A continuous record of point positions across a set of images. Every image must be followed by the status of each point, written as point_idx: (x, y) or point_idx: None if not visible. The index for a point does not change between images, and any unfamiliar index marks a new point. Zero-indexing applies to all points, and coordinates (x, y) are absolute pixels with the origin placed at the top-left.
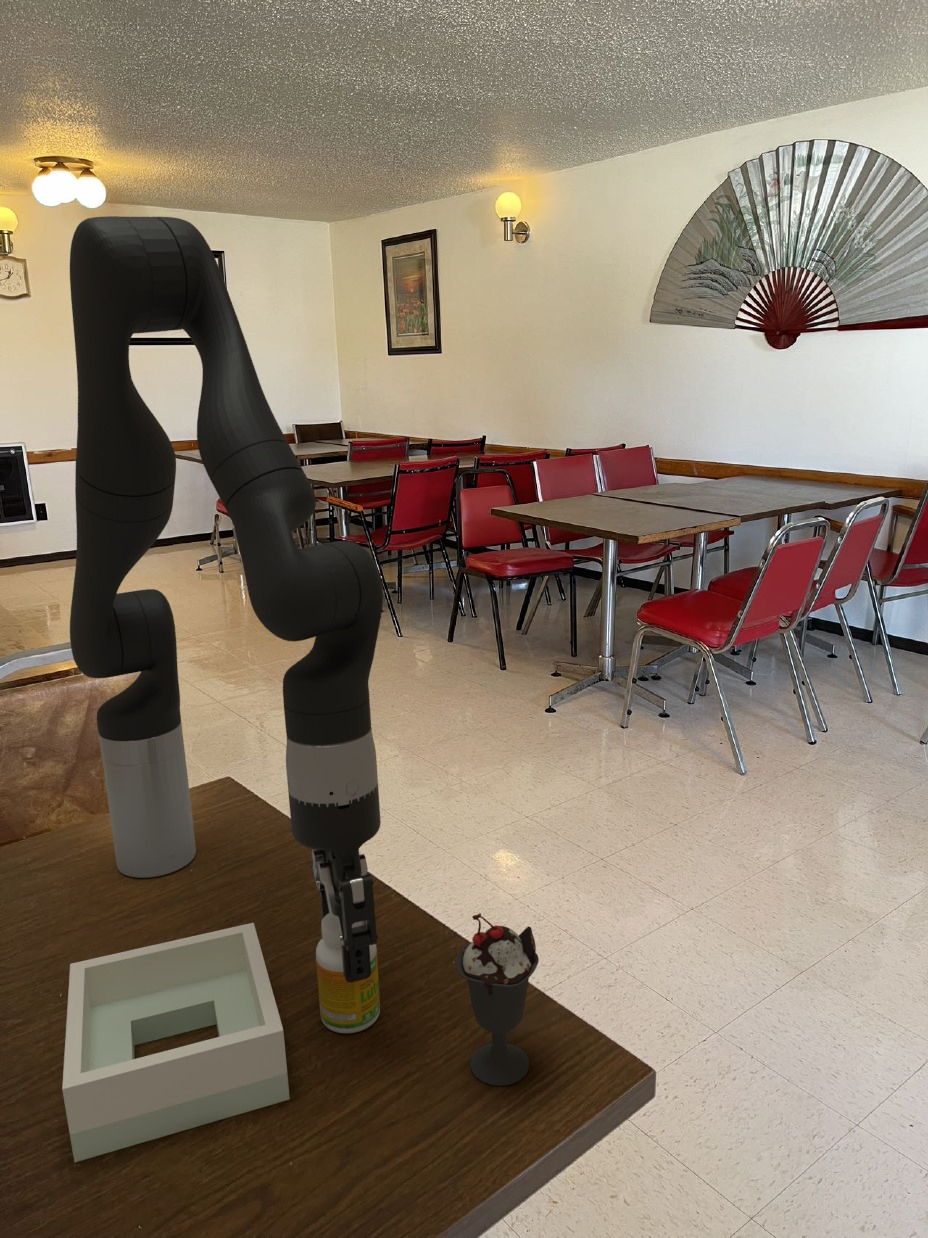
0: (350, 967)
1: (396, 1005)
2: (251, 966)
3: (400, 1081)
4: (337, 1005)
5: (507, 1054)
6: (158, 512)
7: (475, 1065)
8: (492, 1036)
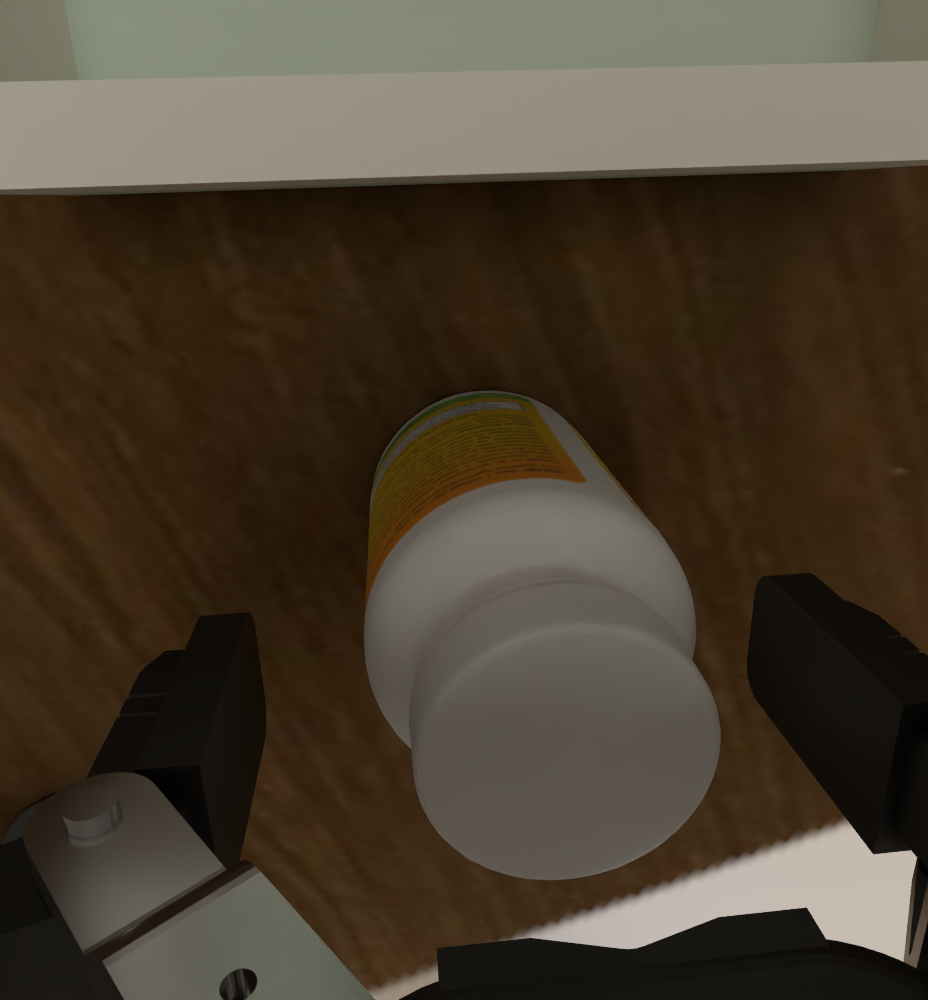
0: (159, 694)
1: None
2: (623, 72)
3: (91, 590)
4: (388, 483)
5: None
6: None
7: None
8: None
